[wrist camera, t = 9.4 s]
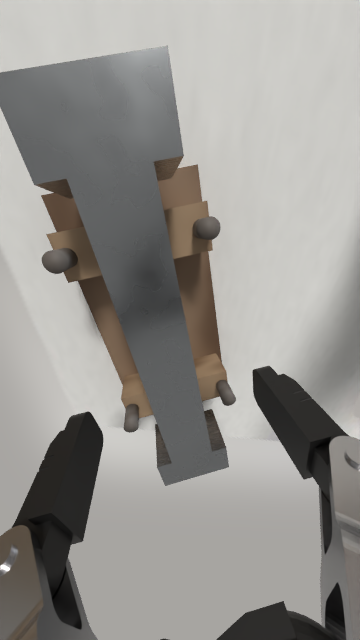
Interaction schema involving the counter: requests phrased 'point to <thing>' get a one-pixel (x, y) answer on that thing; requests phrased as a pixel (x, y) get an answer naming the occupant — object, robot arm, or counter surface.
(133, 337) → the grey flared end bar
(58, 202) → the rack
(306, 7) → the counter surface
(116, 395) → the counter surface
